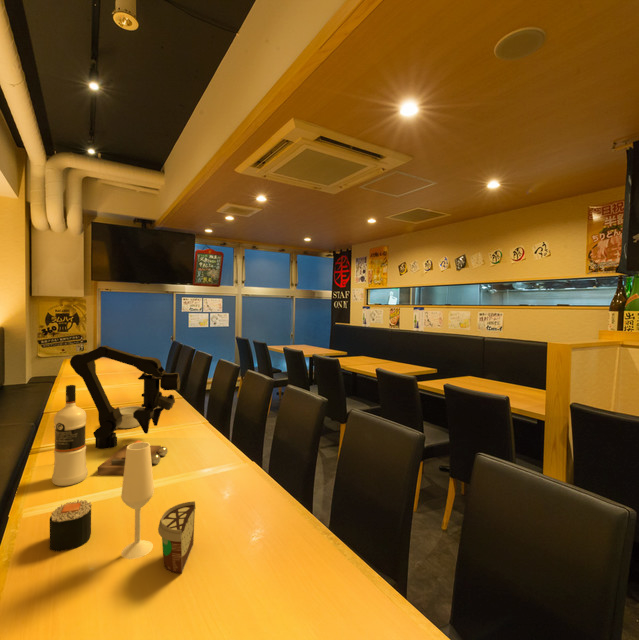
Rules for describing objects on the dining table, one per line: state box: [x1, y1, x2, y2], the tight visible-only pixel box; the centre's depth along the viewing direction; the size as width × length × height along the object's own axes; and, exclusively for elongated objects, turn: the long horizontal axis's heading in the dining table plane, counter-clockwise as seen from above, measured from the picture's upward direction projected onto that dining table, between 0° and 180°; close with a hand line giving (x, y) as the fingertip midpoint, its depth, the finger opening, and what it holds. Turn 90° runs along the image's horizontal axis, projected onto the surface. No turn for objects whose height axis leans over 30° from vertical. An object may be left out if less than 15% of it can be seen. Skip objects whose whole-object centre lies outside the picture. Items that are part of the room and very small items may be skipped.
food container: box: [157, 501, 196, 575], centre depth 81 cm, size 12×6×10 cm, turn 5°
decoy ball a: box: [158, 446, 169, 457], centre depth 136 cm, size 3×3×3 cm
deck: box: [97, 444, 162, 476], centre depth 130 cm, size 13×19×4 cm
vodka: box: [51, 384, 89, 487], centre depth 115 cm, size 9×9×30 cm
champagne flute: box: [120, 441, 155, 560], centre depth 84 cm, size 7×7×24 cm
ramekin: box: [117, 405, 145, 429], centre depth 170 cm, size 13×13×7 cm
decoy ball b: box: [151, 454, 161, 465], centre depth 129 cm, size 3×3×3 cm
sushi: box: [49, 499, 93, 552], centre depth 87 cm, size 8×8×8 cm
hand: (151, 429), depth 147 cm, fingers open, 9 cm apart
